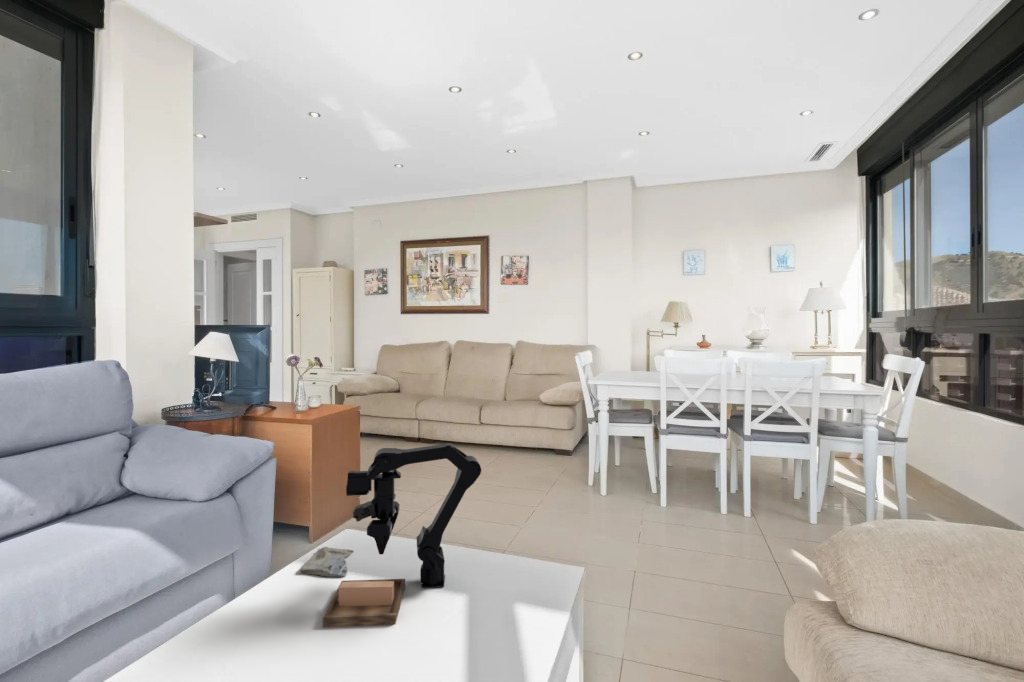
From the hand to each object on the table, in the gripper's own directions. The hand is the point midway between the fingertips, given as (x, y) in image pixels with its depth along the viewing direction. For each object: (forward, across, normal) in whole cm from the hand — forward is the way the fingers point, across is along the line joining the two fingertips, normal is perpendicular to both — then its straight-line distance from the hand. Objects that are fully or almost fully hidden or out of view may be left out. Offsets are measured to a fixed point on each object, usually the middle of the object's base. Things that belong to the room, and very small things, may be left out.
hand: (384, 546), depth 141 cm
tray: (+12, +9, -3) cm, 15 cm away
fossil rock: (+13, -16, -20) cm, 28 cm away
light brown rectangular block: (+11, +9, -3) cm, 15 cm away
